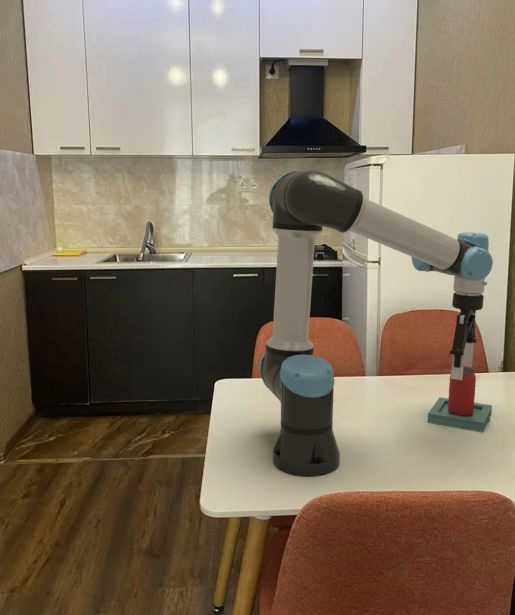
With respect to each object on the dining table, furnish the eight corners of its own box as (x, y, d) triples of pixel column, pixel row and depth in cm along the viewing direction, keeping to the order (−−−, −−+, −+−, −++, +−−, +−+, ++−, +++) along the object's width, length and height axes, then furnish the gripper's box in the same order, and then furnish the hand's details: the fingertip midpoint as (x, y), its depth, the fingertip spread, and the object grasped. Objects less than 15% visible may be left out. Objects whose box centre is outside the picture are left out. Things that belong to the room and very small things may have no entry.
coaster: (483, 432, 154) (484, 422, 153) (427, 422, 160) (428, 413, 160) (491, 414, 166) (492, 405, 165) (439, 405, 172) (439, 397, 172)
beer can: (475, 418, 159) (478, 374, 156) (448, 416, 160) (451, 372, 158) (471, 409, 165) (474, 367, 163) (446, 407, 166) (449, 365, 164)
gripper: (475, 302, 144) (467, 387, 148) (490, 288, 165) (483, 363, 169) (443, 298, 147) (436, 382, 151) (462, 285, 169) (456, 359, 173)
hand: (461, 372), depth 160 cm, fingers open, 13 cm apart
